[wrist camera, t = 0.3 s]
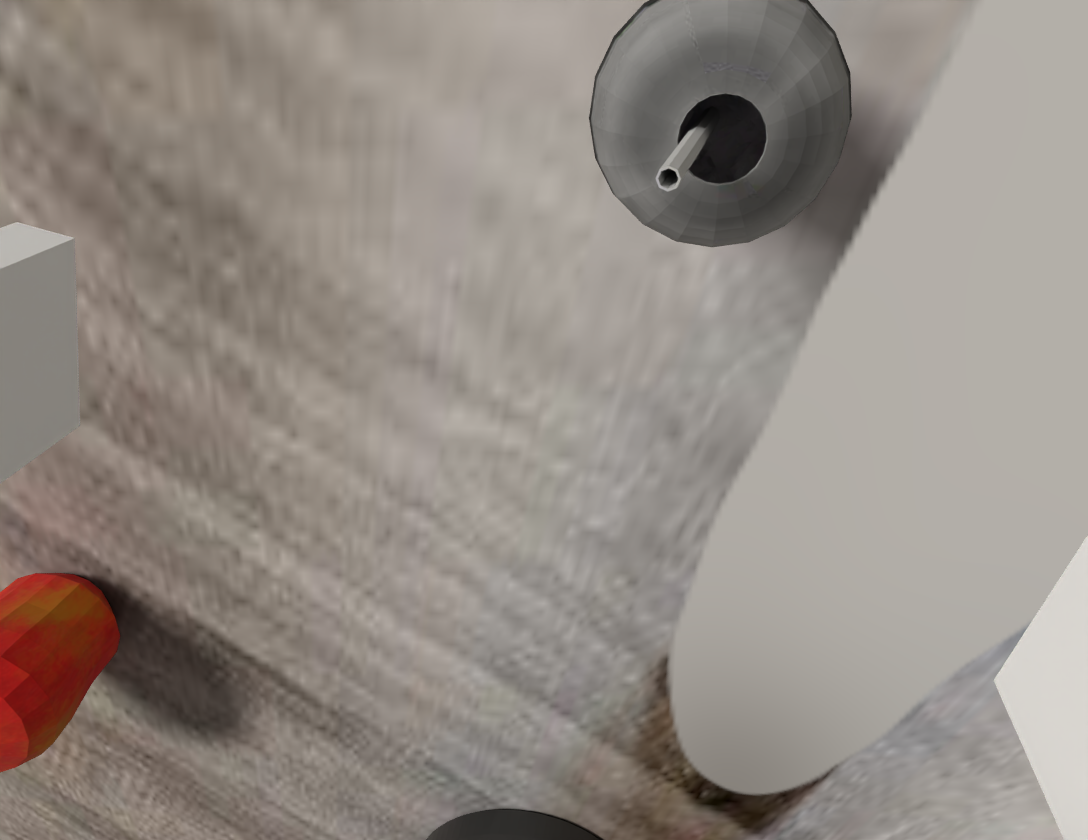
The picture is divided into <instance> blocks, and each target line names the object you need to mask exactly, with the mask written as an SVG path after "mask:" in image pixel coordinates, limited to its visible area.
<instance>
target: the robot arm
mask: <svg viewBox="0 0 1088 840" xmlns="http://www.w3.org/2000/svg"><path fill="white" fill-rule="evenodd" d="M79 426H80V406H79V371H78V335H77V300H76V264H75V238H73V237H69V236H65V235H62V234H58V233H54V232H51V231H47V230H43V229H40V228H36V227H32V226H29V225H25V224H22V223H18V222H16V223H13V224H10V225H8V226H5V227H2V228H0V483H2V482H3V481H4V480H6V479H7V478H9V477H10V476H11V475H13V474H14V473H15V472H17V471H18V470H20V469H21V468H22V467H24V466H25V465H26V464H28V463H29V462H31V461H32V460H33V459H35V458H36V457H37V456H39V455H40V454H42V453H43V452H44V451H46V450H47V449H48V448H50V447H51V446H53V445H54V444H55V443H57V442H58V441H59V440H61V439H62V438H64V437H65V436H66V435H68V434H69V433H70V432H72V431H73V430H75V429H76V428H77V427H79ZM994 683H995V685H996V687H997V689H998V692H999V694H1000V696H1001V698H1002V701H1003V703H1004V705H1005V707H1006V710H1007V712H1008V714H1009V716H1010V719H1011V721H1012V723H1013V726H1014V728H1015V730H1016V732H1017V735H1018V737H1019V739H1020V741H1021V744H1022V746H1023V748H1024V750H1025V753H1026V755H1027V757H1028V759H1029V762H1030V764H1031V766H1032V768H1033V771H1034V773H1035V775H1036V778H1037V780H1038V782H1039V784H1040V787H1041V789H1042V791H1043V793H1044V796H1045V798H1046V800H1047V802H1048V805H1049V807H1050V809H1051V811H1052V814H1053V816H1054V818H1055V820H1056V823H1057V825H1058V827H1059V830H1060V832H1061V834H1062V836H1063V839H1064V840H1088V536H1087V537H1086V538H1085V540H1084V542H1083V543H1082V545H1081V546H1080V548H1079V550H1078V551H1077V552H1076V554H1075V555H1074V557H1073V559H1072V560H1071V562H1070V563H1069V565H1068V567H1067V568H1066V570H1065V571H1064V573H1063V574H1062V576H1061V577H1060V579H1059V580H1058V582H1057V583H1056V585H1055V587H1054V588H1053V589H1052V591H1051V593H1050V594H1049V596H1048V597H1047V599H1046V600H1045V602H1044V603H1043V605H1042V607H1041V608H1040V610H1039V611H1038V613H1037V614H1036V616H1035V617H1034V619H1033V620H1032V622H1031V623H1030V625H1029V627H1028V628H1027V630H1026V631H1025V633H1024V634H1023V636H1022V637H1021V639H1020V640H1019V642H1018V644H1017V645H1016V647H1015V648H1014V650H1013V651H1012V653H1011V654H1010V656H1009V657H1008V659H1007V661H1006V662H1005V664H1004V665H1003V667H1002V668H1001V670H1000V671H999V673H998V674H997V676H996V678H995V679H994ZM426 840H599V839H598V838H596V837H595V836H593V835H591V834H590V833H588V832H586V831H585V830H583V829H581V828H579V827H577V826H575V825H572V824H570V823H568V822H565V821H563V820H560V819H557V818H554V817H550V816H547V815H543V814H538V813H533V812H527V811H519V810H488V811H480V812H475V813H470V814H467V815H463V816H460V817H458V818H455V819H453V820H451V821H449V822H447V823H445V824H443V825H442V826H440V827H439V828H438V829H436V830H435V831H434V832H433V833H432V834H431V835H430V836H429V837H428V838H427V839H426Z"/></svg>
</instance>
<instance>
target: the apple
mask: <svg viewBox="0 0 1088 840" xmlns="http://www.w3.org/2000/svg"><path fill="white" fill-rule="evenodd" d="M119 639H120V633H119V630H118V626H117V623H116V619H115V616H114V614H113V612H112V609H111V607H110V605H109V603H108V601H107V599H106V598H105V596H104V594H103V593H102V591H101V590H100V589H99V588H97V587H96V586H95V585H94V584H92V583H91V582H90V581H89V580H86V579H84V578H81V577H79V576H76V575H74V574H64V573H35V574H32V575H28V576H25V577H21V578H18V579H16V580H15V581H14V582H13V583H11V584H10V585H9V586H8V587H6V588H5V589H4V590H3V591H1V592H0V772H3V771H6V770H9V769H12V768H15V767H17V766H19V765H21V764H23V763H25V762H27V761H29V760H31V759H33V758H35V757H37V756H39V755H41V754H42V753H43V752H44V751H45V750H46V749H48V748H49V747H50V746H51V745H52V744H53V743H54V742H55V740H56V739H57V738H58V736H59V735H60V734H61V732H62V731H63V729H64V728H65V727H66V725H67V724H68V723H69V721H70V720H71V719H72V717H73V715H74V714H75V712H76V710H77V708H78V707H79V705H80V703H81V701H82V700H83V698H84V696H85V694H86V693H87V691H88V689H89V688H90V686H91V684H92V682H93V681H94V680H95V679H96V677H97V676H98V675H99V674H100V672H101V671H102V670H103V669H104V667H105V666H106V665H107V664H108V662H109V661H110V660H111V658H112V657H113V656H114V655H115V653H116V652H117V648H118V644H119Z"/></svg>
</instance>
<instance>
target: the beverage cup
mask: <svg viewBox="0 0 1088 840" xmlns="http://www.w3.org/2000/svg"><path fill="white" fill-rule="evenodd" d="M851 116H852V114H851V81H850V71H849V68H848V65H847V63H846V60H845V57H844V55H843V52H842V49H841V46H840V44H839V41H838V38H837V36H836V33H835V31H834V30H833V29H832V28H831V27H830V25H829V24H828V23H827V22H826V21H825V20H824V18H823V17H822V16H821V15H820V14H819V13H818V11H817V10H816V9H815V8H814V7H813V5H812V4H811V3H810V2H809V1H808V0H649V1H647V2H646V3H644V4H643V5H642V6H641V7H640V8H639V9H638V11H637V12H636V13H635V14H634V15H633V16H632V17H631V18H630V19H629V20H628V22H627V23H626V24H625V25H624V26H623V27H622V28H621V29H620V30H619V31H618V33H617V34H616V35H615V36H614V37H613V40H612V42H611V44H610V46H609V48H608V50H607V52H606V54H605V57H604V59H603V61H602V63H601V65H600V67H599V69H598V71H597V73H596V76H595V81H594V88H593V95H592V102H591V108H590V115H589V120H590V127H591V133H592V140H593V146H594V153H595V158H596V160H597V163H598V165H599V167H600V169H601V171H602V173H603V175H604V177H605V179H606V181H607V183H608V185H609V187H610V189H611V191H612V193H613V194H614V195H615V196H616V197H617V198H618V199H619V200H620V201H621V202H622V203H623V204H624V205H625V206H626V207H627V208H628V209H629V210H630V211H631V213H632V214H633V215H634V216H635V217H636V218H637V219H638V220H639V221H640V222H641V223H642V224H644V225H645V226H647V227H649V228H651V229H653V230H655V231H657V232H659V233H661V234H663V235H665V236H667V237H669V238H670V239H672V240H674V241H678V242H684V243H689V244H695V245H701V246H707V247H717V246H725V245H732V244H739V243H746V242H750V241H753V240H755V239H757V238H759V237H761V236H763V235H766V234H768V233H770V232H772V231H774V230H777V229H779V228H781V227H783V226H785V225H786V224H787V223H788V222H789V221H791V220H792V219H793V218H794V217H795V216H796V215H797V214H799V213H800V212H801V211H802V210H803V209H804V208H806V207H807V206H808V205H809V204H810V203H811V202H812V201H814V200H815V198H816V197H817V195H818V194H819V192H820V190H821V189H822V187H823V186H824V184H825V183H826V181H827V179H828V178H829V176H830V175H831V173H832V172H833V170H834V168H835V167H836V165H837V163H838V161H839V158H840V155H841V152H842V148H843V145H844V141H845V138H846V134H847V130H848V127H849V123H850V120H851Z"/></svg>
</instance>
